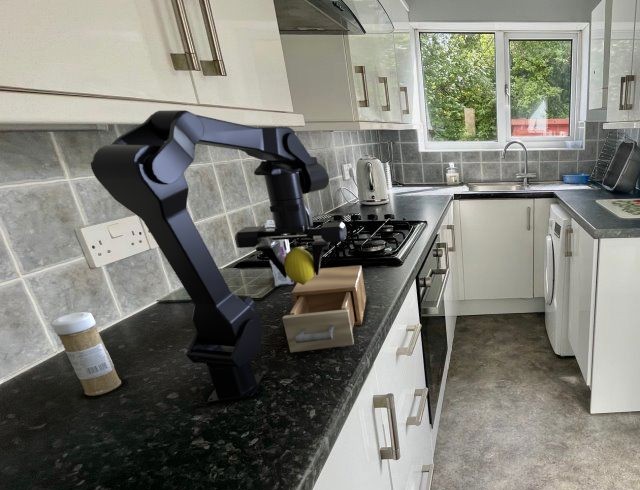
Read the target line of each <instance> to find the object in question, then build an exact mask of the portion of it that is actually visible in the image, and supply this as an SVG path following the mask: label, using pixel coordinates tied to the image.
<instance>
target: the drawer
mask: <svg viewBox="0 0 640 490" xmlns="http://www.w3.org/2000/svg"><path fill="white" fill-rule="evenodd" d="M355 317H356V312H355V306H354V300H353V294H352V291H342V292H331V293H320V294H309V295H300V296H299V298H298V300H297V302H296V303H295V305H294V304H293V306H292V308H291V310H290V312H289V314H287V315H286V314H285V315H283V316H282V322H283V327H284V331H285V335H286V339H287V344H288V348H289V353H298V352H305V351H313V350H323V349H330V348H338V347H346V346H347V347H348V346H353V345H354V343H355V339H354V334H353V330H354V326H355V325H354V321H355Z"/></svg>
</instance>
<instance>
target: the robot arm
mask: <svg viewBox="0 0 640 490" xmlns="http://www.w3.org/2000/svg"><path fill="white" fill-rule="evenodd" d="M196 145H203V146H209V147H215V148H222V149H223V148H224V149H229V150H231V149H232V150H238V151H241V152H244V153H245V154H247V156H250V157H252V158H255V159H258V160H261V161H260V164H259V166H258V167H256V168H255V169H254V171H253V174H254V175H255V176H263V177H264V182H265V186H266V190H267V195H268V199H269V204H270V206H269V211H270V213H272V220H273V221H274V223H275V230H270V231H267V230H266V228H265V227H264V226H263V225H260V226H259V225H258V226H257V225H256V226H245V227H243V228H242V229H240V230H239V231H237V232H236V234H235V235H234V242H235V245H236V248H238V249H246V248H255V252H262V253H263V254H264V256H266V257H267V258H268V260H269V259H270V260H271V261H272V262H273V263H274V265H275V266H276V267H277V269H278V270H279V271H280V272H281V274H282V275H283V276H284V277H285V278H287V274H286V272H285V268H284V259H283V255H282V252H281V248H280V240H284V239H288V240H299V239H313V240H314V241H313V242H312V244H311V250H312V251H311V252H312V257H313V261H314V270H315V273H316V275H318V274H319V270H320V269H321V263H322V258H323V253H324V250H325V248H326V247H329V246H330V244H331V243H336V242H337V243H339V242H343V241H345V240H346V238H347V234H348V232H347V227H346V224H345V223H344V222H343V221H335V222H334V221H332V222H331V221H329V222H323V223H322V225H321V227H314V224H313V213H312V211H311V210H310V209H309V208H307V206H306V202H305V199H304V195H305V194H309V193H314V192H319V191H322V190H325V189H326V188H327V187H328V186H329V183H330V175H329V173H328V171H327V169H326V168H325V167H324V166H323V165H322V164H321V163H318V158H317V157H316V156H311V155H310V153H309V152H308V150H307V148H306V147H305V145H304V144H303V142H302V141H301V140H300V138H299V136H298V135H297V134H296V131H295V130H294V129H293V128H291V127H289V126H249V125H245V124H241V123H237V122H231V121H227V120H222V119H218V118H213V117H208V116H204V115H200V114H195V113H193V112H190V111H189V110H181V109H179V110H177V109H176V110H174V109H173V110H156V111H155V112H154V113H152V114H150V115H149V116H148V117H147V118H146V120H144V121H143V122H142V123H141V124H139V125H137V126H136V127H133V128H132V129H130V130H128V131H126V132H124V133H123V134H121V135H120V136H118V137H117V138H116V139H115V140H113V142H112V143H111V144H108V145H107V144H106V145H104V146H102V147H100V148H98V149H97V151H96V152H95V153H94V155H93V159H92V161H91V162H90V166H91V168H90V169H91V171H92V173H93V175H94V177H95V179H96V180H97V181H98V182H99V183H100V184H101V185H102V187H103V188H104V189H105V190H106V191H107V192H108V194H110V196H111V197H112V198H113V199H114V200H115V201H116V202H117V203H119V204H121V205H122V206H123V207H124V208H126V209H127V210H129V211H130V212H132V213H133V214H134V215H136V216H137V217H138V218H139V219H141V220H142V222H143V223H144V225H145V226H146V228H147V230H148V231H149V233H150V235H151V237H152V238H153V239H154V241H155V243H156V244H157V246H158V247H159V249H160V251H161V252H162V254H163V256H164V257H165V259H166V260H167V262H168V264H169V266H170V267H171V269H172V270H173V272H174V274H175V275H176V277H177V278H178V281H179V282H180V284H181V285H182V287H183V288H184V290H185V291H186V293H187V295H188V297H189V298H190V300H191V301H192V303H193V305H194V307H193V312H192V318H191V319H192V320H191V321H192V323H193V326H194V328H195V333H194V335H193V338H192V340H191V342H190V345H189V347H188V349H187V352H186V357H187V358H188V359H189V360H190V361H191V362H192V363H193V364H206V366H207V367H206V368H207V369H208V373H209V376H210V379H211V382H212V385H213V388H214V390H213V391H212V393H211V394H210V396H209V398H208V399H207V403H208V404H216V403H217V404H218V403H225V402H230V401H238V400H244V399H251V398H254V396H255V394H256V393H257V390H258V388H259V386H260V384H261V382H262V381H263V379H264V376H265V375H264V373H256V374H255V371H254V368H253V365H252V362H251V360H253V359H254V358H255V357H257V356H258V355H260V354H261V351H262V328H263V326H262V325H263V324H262V322H261V317H262V313H261V312H259V311H258V308H257V307H256V305H255V300H253V298H252V297H251V295H242V294H241V295H240V294H234V293H233V292H232V291H231V289H230V287H229V286H228V284H227V282H226V280H225V278H224V277H223V275H222V272H221V271H220V268H219V267H218V265H217V263H216V261H215V260H214V258H213V256H212V254H211V252H210V250H209V248H208V246H207V245H206V243H205V241H204V239H203V237H202V235H201V234H200V231H199V230H198V228H197V226H196V225H195V223H194V220H193V219H192V217H191V214H190V213H189V211H188V209H187V205H188V204H187V203H188V197H189V190H190V189H189V185H188V182H187V179H186V176H185V172H186V171H187V169H188V168H189V167H190V166H191V165H192V163H193V162H194V160H195V154H196V153H195V152H196ZM283 234H287V235H283Z"/></svg>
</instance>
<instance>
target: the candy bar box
mask: <svg viewBox="0 0 640 490" xmlns="http://www.w3.org/2000/svg"><path fill="white" fill-rule="evenodd" d="M262 226H264V227H265V228H266V230H267V231H270V230H275V223H274V221H273V219H267V220H265V222H264V223H263V225H262ZM283 235H288V234H283ZM280 248H281V252H282V255H283V259H284V260H285V257H286V255H287V253H288V252H289V251H291V247H290V242H289V239H284V240H280ZM268 261H269V262H268V263H269V266H270V271H271V275H272V279H273V284H274V287H282V286H291V285H294V284H295V282H294V281H292V280H291V279H290V278H289V277H288V276H287V278H285V277H284V276H283V275H282V274H281V272H280V271H279V270H278V269H277V267H276V266H275V265H274V263H273V262H272V261H271V260H270V259H269V258H268Z"/></svg>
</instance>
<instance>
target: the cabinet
mask: <svg viewBox="0 0 640 490" xmlns="http://www.w3.org/2000/svg"><path fill="white" fill-rule="evenodd" d="M364 281H365V280H364V274H363V268H362V265H348V266H337V267H323V268H320V270H319V274H318V275H316V273H315V274H314V276H313V278H312V279H311V280H309V281H308V282H307V283H306V284H305V285H302V284H300V283H297V282H296V284H295V286H294V288H293V290H292V291H291V297H292V302H293V306H294V305H295V303H296V302H297V300H298V298H299V296H300V295H309V294H320V293H331V292H342V291H352V294H353V300H354V306H355V312H356V317H355V321H354V326H361V325H362V324H363V319H364V314H365V308H366V303H367V293H366V288H365V282H364Z"/></svg>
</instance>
